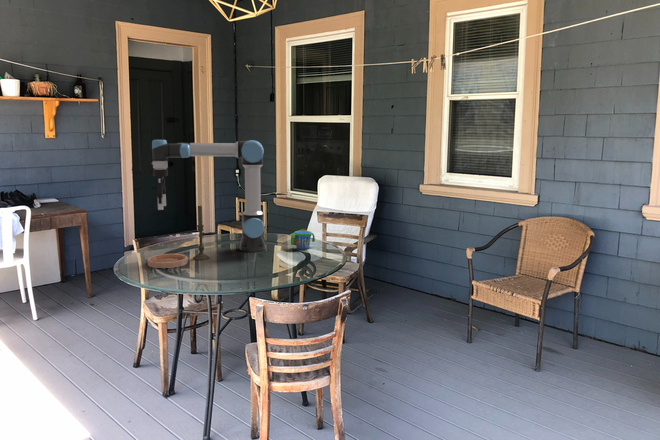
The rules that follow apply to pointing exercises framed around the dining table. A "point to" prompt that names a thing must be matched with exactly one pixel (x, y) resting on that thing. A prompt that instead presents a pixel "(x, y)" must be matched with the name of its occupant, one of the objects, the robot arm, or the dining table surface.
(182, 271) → the dining table surface
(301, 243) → the snack cup
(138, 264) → the dining table surface
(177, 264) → the saucer
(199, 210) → the candlestick holder
